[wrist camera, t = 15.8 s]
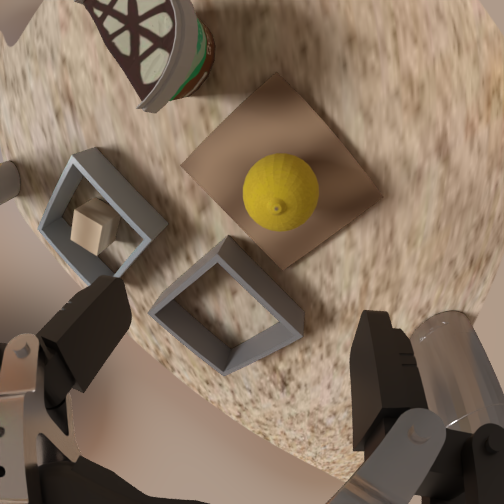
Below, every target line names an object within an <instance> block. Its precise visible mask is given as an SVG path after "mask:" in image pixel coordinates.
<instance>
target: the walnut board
mask: <svg viewBox="0 0 504 504" xmlns="http://www.w3.org/2000/svg"><path fill="white" fill-rule="evenodd" d="M276 153H287V154H290V155H294V156H297V157H298V158H300V159H302V160H304V161H305V162H306V163H307V164H308V165H309V166H310V167H311V169H312V170H313V172H314V174H315V175H316V178H317V181H318V185H319V197H318V202H317V206H316V208H315V210H314V212H313V213H312V215H311V216H310V217H309V219H308V220H307V221H306V222H305V223H304V224H302V225H300V226H299V227H297V228H295V229H292V230H289V231H281V232H278V231H271V230H268V229H266V228H263V227H262V226H260V225H259V224H257V223H256V222H255V221H254V220H253V219H252V218H251V217H250V215H249V214H248V212H247V210H246V208H245V204H244V201H243V185H244V181H245V178H246V176H247V174H248V172H249V170H250V169H251V167H252V166H253V165H254V164H255V163H256V162H258V161H259V160H260V159H262V158H264V157H266V156H268V155H272V154H276ZM180 166H181V167H182V168H183V169H184V170H185V171H186V172H187V173H188V174H189V175H190V176H191V177H192V178H193V179H194V180H195V181H196V182H197V183H198V184H199V185H200V186H201V187H202V188H203V189H204V190H205V191H206V193H207V194H208V195H209V196H210V197H211V198H212V199H213V200H214V201H215V202H216V203H217V204H218V205H219V206H220V207H221V208H222V209H223V210H224V211H225V212H226V213H227V214H228V215H229V216H230V217H231V218H232V219H233V220H234V221H235V222H236V223H237V224H238V225H239V226H240V227H241V228H242V229H243V230H244V232H245V233H246V234H247V235H248V236H249V237H250V238H251V239H252V240H253V241H254V242H255V243H256V244H257V245H258V246H259V247H260V248H261V249H262V250H263V251H264V252H265V253H266V254H267V255H268V256H269V257H270V258H271V259H272V260H273V261H274V263H275V264H276V265H277V266H278V267H279V268H280V269H281V270H282V271H283V270H284V269H286V268H287V267H289V266H290V265H291V264H293V263H294V262H296V261H297V260H299V259H300V258H301V257H303V256H304V255H306V254H307V253H308V252H310V251H311V250H313V249H314V248H315V247H317V246H318V245H319V244H321V243H322V242H324V241H325V240H326V239H328V238H329V237H331V236H332V235H333V234H335V233H336V232H337V231H339V230H340V229H342V228H343V227H344V226H346V225H347V224H348V223H350V222H351V221H352V220H354V219H355V218H356V217H358V216H359V215H361V214H362V213H363V212H365V211H366V210H367V209H369V208H370V207H371V206H373V205H374V204H375V203H377V202H378V201H379V200H381V199H382V198H383V196H382V194H381V193H380V191H379V190H378V189H377V187H376V186H375V185H374V183H373V182H372V181H371V179H370V178H369V176H368V175H367V174H366V173H365V171H364V170H363V169H362V167H361V166H360V165H359V163H358V162H357V161H356V160H355V158H354V157H353V156H352V155H351V153H350V152H349V151H348V150H347V148H346V147H345V146H344V145H343V143H342V142H341V141H340V140H339V139H338V137H337V136H336V135H335V134H334V133H333V132H332V130H331V129H330V128H329V127H328V126H327V125H326V123H325V122H324V121H323V120H322V119H321V118H320V117H319V116H318V114H317V113H316V112H315V111H314V110H313V109H312V108H311V107H310V106H309V105H308V103H307V102H306V101H305V100H304V99H303V98H302V97H301V96H300V95H299V94H298V93H297V92H296V91H295V90H294V89H293V88H292V87H291V86H290V85H289V84H288V83H287V82H286V81H285V80H284V79H283V78H282V77H281V76H280V75H279V74H278V73H277V72H276V73H275V74H274V75H273V76H271V77H270V78H269V79H268V80H267V81H266V82H265V83H263V84H262V85H261V86H260V87H259V88H258V89H257V90H256V91H255V92H253V93H252V94H251V95H250V96H249V97H248V98H247V99H246V100H245V101H244V102H243V103H241V104H240V105H239V106H238V107H237V108H236V109H235V110H234V111H233V112H232V113H231V114H230V115H229V116H228V117H227V118H226V119H225V120H224V121H223V122H222V123H221V124H220V125H219V126H218V127H217V128H216V129H215V130H214V131H213V132H212V133H211V134H210V135H209V136H208V137H207V138H206V139H205V140H204V141H203V142H202V143H201V144H200V145H199V146H198V147H197V148H196V149H195V150H194V151H193V152H192V153H191V155H190V156H189V157H188V158H187V159H186V160H185V161H184V162H183V163H182V164H181V165H180Z"/></svg>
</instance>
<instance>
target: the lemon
mask: <svg viewBox="0 0 504 504" xmlns="http://www.w3.org/2000/svg"><path fill="white" fill-rule="evenodd" d="M318 197H319V185H318V181H317V178H316V175H315V174H314V172H313V170H312V169H311V167H310V166H309V165H308V164H307V163H306V162H305V161H304V160H302V159H300V158H298V157H297V156H294V155H290V154H287V153H276V154H272V155H268V156H266V157H264V158H262V159H260V160H259V161H258V162H256V163H255V164H254V165H253V166H252V167H251V169H250V170H249V172H248V174H247V176H246V178H245V181H244V185H243V201H244V204H245V208H246V210H247V212H248V214H249V215H250V217H251V218H252V219H253V220H254V221H255V222H256V223H257V224H259V225H260V226H262V227H263V228H266V229H268V230H271V231H278V232H281V231H289V230H292V229H295V228H297V227H299V226H300V225H302V224H304V223H305V222H306V221H307V220H308V219H309V217H310V216H311V215H312V213H313V212H314V210H315V208H316V206H317V202H318Z"/></svg>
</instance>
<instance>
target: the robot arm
mask: <svg viewBox="0 0 504 504" xmlns="http://www.w3.org/2000/svg"><path fill="white" fill-rule="evenodd" d="M131 320H132V313H131V309H130V305H129V301H128V297H127V293H126V289H125V284H124V282H123V280H122V279H121V278H119V277H113V276H107V275H101V276H99V277H98V278H97V279H96V280H95V281H94V282H93V283H92V284H91V285H90V286H88V287H86V288H85V289H83V290H81V291H79V292H78V293H77V294H75V295H74V297H72V298H71V299H70V300H69V303H66V304H65V305H64V306H63V307H62V310H59V312H57V313H56V314H55V316H54V317H53V318H52V319H51V320H50V321H49V322H48V323H47V324H46V325H45V326H44V327H43V328H42V329H41V330H40V331H39V332H38V333H37V334H36V335H33V334H22V335H19V336H16V337H15V338H13V339H12V340H11V341H10V342H9V343H8V344H6V343H0V504H208V503H204V502H200V501H196V500H179V499H167V498H157V497H150V496H148V495H145V494H144V493H142V492H141V491H139V490H137V489H136V488H135V487H133V486H132V485H131V484H129V483H128V482H126V481H125V480H124V479H122V478H121V477H119V476H118V475H117V474H115V473H114V472H113V471H111V470H109V469H106V468H104V467H102V466H100V465H98V464H96V463H94V462H92V461H90V460H88V459H86V458H84V457H83V456H82V454H81V452H80V450H79V448H78V446H77V443H76V439H75V431H74V424H73V413H72V403H71V396H70V394H69V391H70V390H71V388H73V389H76V390H78V391H80V392H83V393H84V392H85V391H86V389H87V388H88V386H89V385H90V383H91V382H92V380H93V379H94V377H95V376H96V374H97V373H98V371H99V370H100V369H101V367H102V366H103V364H104V363H105V361H106V360H107V358H108V357H109V356H110V354H111V353H112V351H113V350H114V348H115V347H116V346H117V344H118V343H119V342H120V340H121V339H122V337H123V336H124V335H125V333H126V332H127V330H128V329H129V327H130V324H131ZM350 378H351V396H352V422H353V451H364V462H363V464H362V465H361V466H360V467H359V468H358V469H357V471H356V472H355V473H354V474H353V475H352V476H351V477H350V479H349V480H348V481H347V482H346V483H345V484H344V485H343V486H342V487H341V488H340V489H339V490H338V492H337V493H336V494H335V495H334V496H333V497H332V498H331V499H330V500H329V501H328V502H327V503H326V504H408V503H409V502H410V500H411V499H412V497H413V496H414V495H420V496H422V504H504V394H503V391H502V389H501V387H500V384H499V382H498V379H497V377H496V374H495V372H494V370H493V368H492V365H491V363H490V361H489V359H488V357H487V355H486V353H485V350H484V348H483V346H482V344H481V342H480V340H479V338H478V336H477V334H476V332H475V330H474V328H473V326H472V325H471V323H470V321H469V319H468V318H467V316H466V315H464V314H463V313H461V312H457V311H448V312H443V313H440V314H437V315H435V316H433V317H431V318H429V319H428V320H426V321H425V322H424V323H422V324H421V325H420V326H419V327H418V328H417V329H416V330H415V332H414V333H413V334H412V336H411V338H410V339H409V338H408V337H407V336H406V334H405V333H404V332H403V331H402V330H401V329H396V328H392V325H391V321H390V317H389V314H388V312H386V311H373V310H364V311H363V312H362V314H361V318H360V321H359V324H358V328H357V331H356V334H355V337H354V340H353V343H352V347H351V352H350Z"/></svg>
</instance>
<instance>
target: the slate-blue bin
mask: <svg viewBox="0 0 504 504" xmlns="http://www.w3.org/2000/svg"><path fill="white" fill-rule="evenodd" d="M83 176H85V177H86V179H87V180H88V181H89V182H90V183H91V184H92V185H93V186H94V187H95V189H96V190H97V191H98V192H99V193H100V194H101V195H102V196H103V197H104V198H105V199H106V201H107V202H108V203H109V204H110V205H111V206H112V207H113V208H114V209H115V210H116V211H117V212H118V213H119V214H120V215H121V216H122V217H123V219H124V220H125V221H126V222H127V223H128V224H129V225H130V226H131V227H132V228H133V229H134V230H135V231H136V232H137V233H138V234H139V235H140V236H141V237H142V238H143V239H144V240H143V241H142V242H141V243H140V245H139V246H138V247H137V248H136V249H135V250H134V252H133V253H132V254H131V255H130V256H129V257H128V259H127V260H126V261H125V262H124V263H123V265H122V266H121V267H120V268H119V269H118V271H117V272H116V273H115V274H114V273H113V272H112V271H111V270H110V269H109V268H108V267H107V266H106V265H105V264H104V263H103V262H102V261H101V259H100V258H99V257H98V256H96V255H94V254H93V253H91V252H89V251H88V250H86V249H85V248H83V247H82V246H80V245H78V244H77V243H75V242H74V241H72V240H71V231H72V228H71V227H70V226H69V225H68V224H67V222H66V221H65V220H64V219H63V218H62V215H63V213H64V211H65V209H66V207H67V205H68V203H69V201H70V199H71V197H72V195H73V194H74V192H75V190H76V188H77V186H78V185H79V183H80V181H81V179H82V177H83ZM168 224H169V223H168V222H167V221H166V220H165V219H164V218H163V217H162V216H161V215H160V214H159V213H158V212H157V211H156V210H155V209H154V208H153V207H152V206H151V205H150V204H149V203H148V202H147V201H146V200H145V199H144V198H143V197H142V196H141V195H140V194H139V193H138V192H137V191H136V190H135V188H134V187H133V186H132V185H131V184H130V183H129V182H128V181H127V180H126V179H125V178H124V177H123V176H122V175H121V174H120V173H119V172H118V171H117V170H116V168H115V167H114V166H113V165H112V164H111V163H110V162H109V161H108V160H107V159H106V158H105V157H104V156H103V155H102V153H101V152H100V151H99V150H98V149H97V148H96V147H94V148H91V149H88V150H85V151H82V152H79V153H76V154H73V155H72V156H71V158H70V159H69V161H68V163H67V165H66V167H65V169H64V171H63V173H62V175H61V177H60V179H59V181H58V183H57V185H56V187H55V189H54V191H53V194H52V196H51V198H50V200H49V202H48V205H47V207H46V209H45V212H44V214H43V217H42V219H41V221H40V224H39V226H38V230H39V232H40V233H41V234H42V235H43V236H44V238H45V239H46V240H47V241H48V242H49V244H50V245H51V246H52V247H53V248H54V249H55V250H56V252H57V253H58V254H59V255H60V256H61V257H62V258H63V259H64V261H65V262H66V263H67V264H68V265H69V266H70V267H71V268H72V269H73V270H74V271H75V273H76V274H77V275H78V276H79V277H80V278H81V279H82V280H83V281H84V282H85V283H86V284H87V285H88V286H90V285H91V284H92V283H93V282H94V281H95V280H96V279H97V278H98V277H99V276H101V275H107V276H113V277H119V278H121V276H122V275H123V274H124V273H125V272H126V271H127V269H128V268H129V267H130V266H131V265H132V264H133V263H134V261H135V260H136V259H137V258H138V257H139V256H140V255H141V254H142V252H143V251H144V250H145V249H146V248H147V247H148V246H149V245H150V244H151V242H152V241H153V240H154V239H155V238H156V237H157V236H158V235H159V234H160V233H161V232H162V230H163V229H164V228H165V227H166V226H167V225H168Z"/></svg>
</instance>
